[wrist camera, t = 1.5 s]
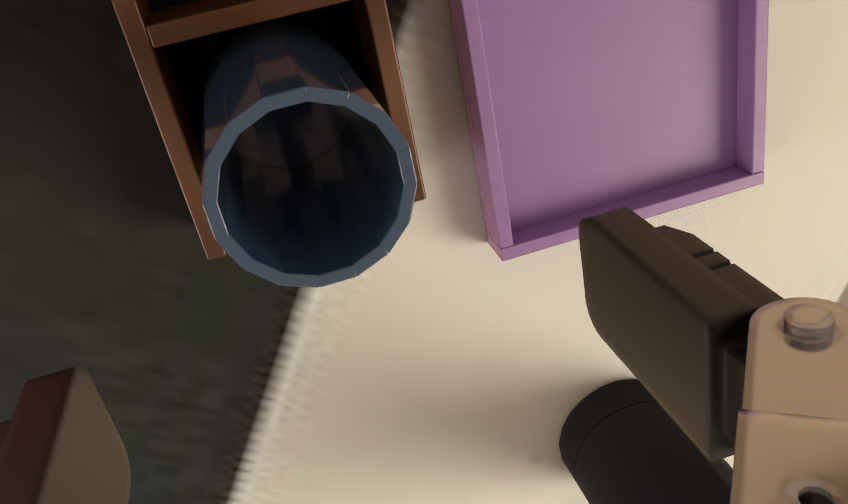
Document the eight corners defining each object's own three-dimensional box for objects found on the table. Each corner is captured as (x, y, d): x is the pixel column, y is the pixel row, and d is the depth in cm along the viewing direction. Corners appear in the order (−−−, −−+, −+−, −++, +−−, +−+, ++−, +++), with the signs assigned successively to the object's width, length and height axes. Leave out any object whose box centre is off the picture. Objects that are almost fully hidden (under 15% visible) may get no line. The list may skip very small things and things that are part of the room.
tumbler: (181, 44, 27) (171, 120, 18) (336, 6, 28) (392, 63, 19) (230, 188, 29) (240, 311, 21) (370, 150, 30) (432, 254, 22)
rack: (36, -243, 22) (13, -258, 20) (308, -294, 23) (322, -315, 21) (207, 227, 30) (208, 261, 27) (408, 172, 31) (426, 199, 28)
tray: (429, -110, 27) (443, -109, 25) (743, -182, 28) (775, -185, 27) (488, 243, 33) (502, 261, 32) (739, 169, 35) (764, 183, 33)
